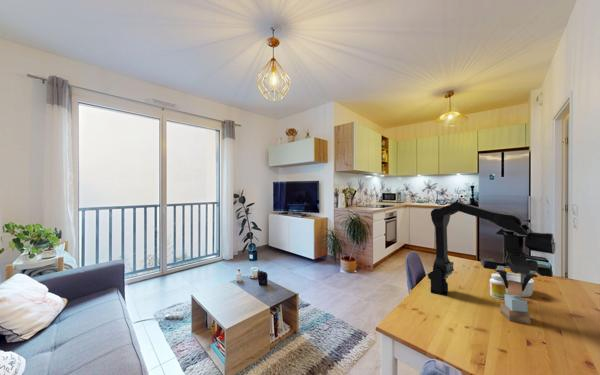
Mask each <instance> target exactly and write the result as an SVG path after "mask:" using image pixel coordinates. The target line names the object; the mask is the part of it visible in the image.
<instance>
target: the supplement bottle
mask: <svg viewBox="0 0 600 375" xmlns="http://www.w3.org/2000/svg"><path fill="white" fill-rule="evenodd" d="M490 274H491V275H490V276H491V278H489V296H490V297H493V298H495V299H498V300H505V294H507V293H506V287H505V285H504V283H503V281H502V278H501V276H500V274H496V273H490Z"/></svg>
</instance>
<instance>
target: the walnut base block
mask: <svg viewBox="0 0 600 375" xmlns="http://www.w3.org/2000/svg"><path fill="white" fill-rule="evenodd" d="M500 314H501V315H502V316H503V317H504V318H505V319H506V320H507V321H508V322H512V323H519V324H525V325H526V324H527V325H531V313H530V312H529V311H528V313H527V312H519V311H512V310H511V309H509V308H508V307H507V306H506V305H505V302H504V303H501V302H500Z"/></svg>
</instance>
